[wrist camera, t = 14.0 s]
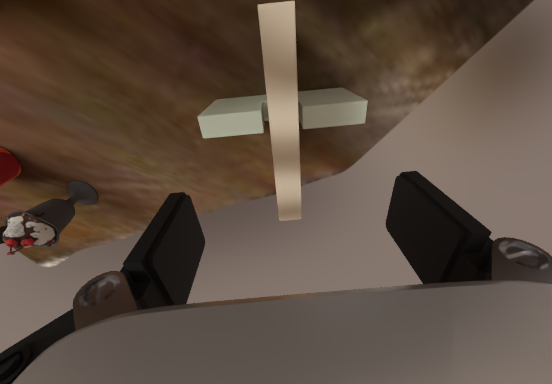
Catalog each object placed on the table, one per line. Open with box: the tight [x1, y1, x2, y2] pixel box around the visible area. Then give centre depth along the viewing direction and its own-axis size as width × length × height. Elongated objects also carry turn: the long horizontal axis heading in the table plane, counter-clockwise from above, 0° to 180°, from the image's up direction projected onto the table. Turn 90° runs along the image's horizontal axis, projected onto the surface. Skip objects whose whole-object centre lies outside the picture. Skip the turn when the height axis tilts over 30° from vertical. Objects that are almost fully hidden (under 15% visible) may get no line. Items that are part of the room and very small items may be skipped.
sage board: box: [197, 87, 368, 138], centre depth 29 cm, size 2×18×10 cm, turn 95°
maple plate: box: [258, 1, 302, 221], centre depth 26 cm, size 18×2×16 cm, turn 5°
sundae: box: [0, 181, 98, 255], centre depth 34 cm, size 7×7×15 cm
